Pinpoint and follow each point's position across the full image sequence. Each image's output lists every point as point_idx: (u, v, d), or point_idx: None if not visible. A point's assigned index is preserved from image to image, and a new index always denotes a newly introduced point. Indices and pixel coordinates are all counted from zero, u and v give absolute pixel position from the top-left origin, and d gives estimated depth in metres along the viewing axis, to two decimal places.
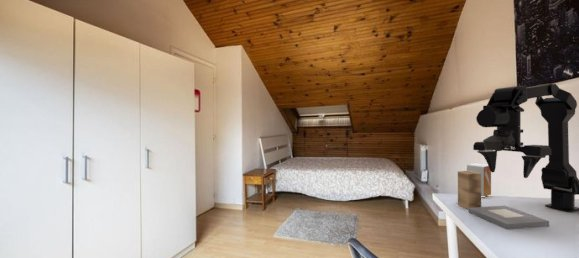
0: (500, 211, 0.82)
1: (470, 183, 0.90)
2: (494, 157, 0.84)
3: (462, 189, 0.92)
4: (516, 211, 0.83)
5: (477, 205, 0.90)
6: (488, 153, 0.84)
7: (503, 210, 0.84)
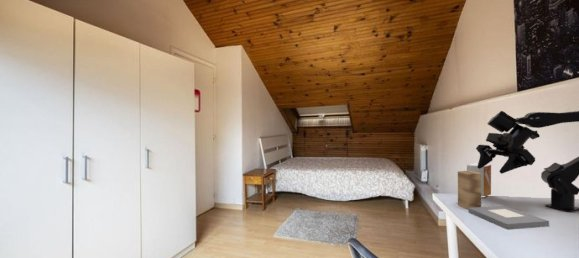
0: (500, 211, 0.82)
1: (470, 183, 0.90)
2: (487, 160, 0.98)
3: (462, 189, 0.92)
4: (516, 211, 0.83)
5: (477, 205, 0.90)
6: (485, 153, 0.98)
7: (503, 210, 0.84)
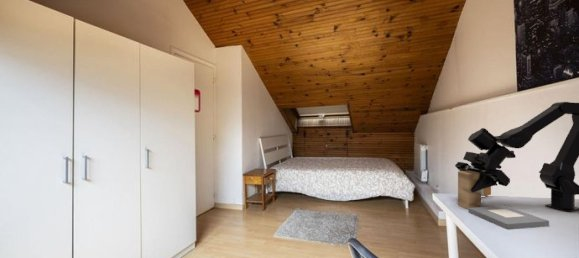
0: (500, 211, 0.82)
1: (470, 183, 0.89)
2: None
3: (462, 189, 0.92)
4: (516, 211, 0.83)
5: (477, 205, 0.90)
6: None
7: (503, 210, 0.84)
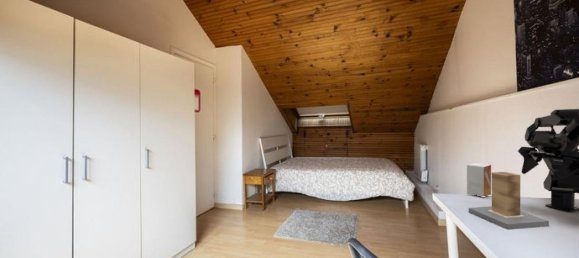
0: None
1: (508, 186, 0.78)
2: (533, 165, 0.86)
3: (498, 193, 0.81)
4: None
5: (515, 211, 0.79)
6: (530, 156, 0.86)
7: None
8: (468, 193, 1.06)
